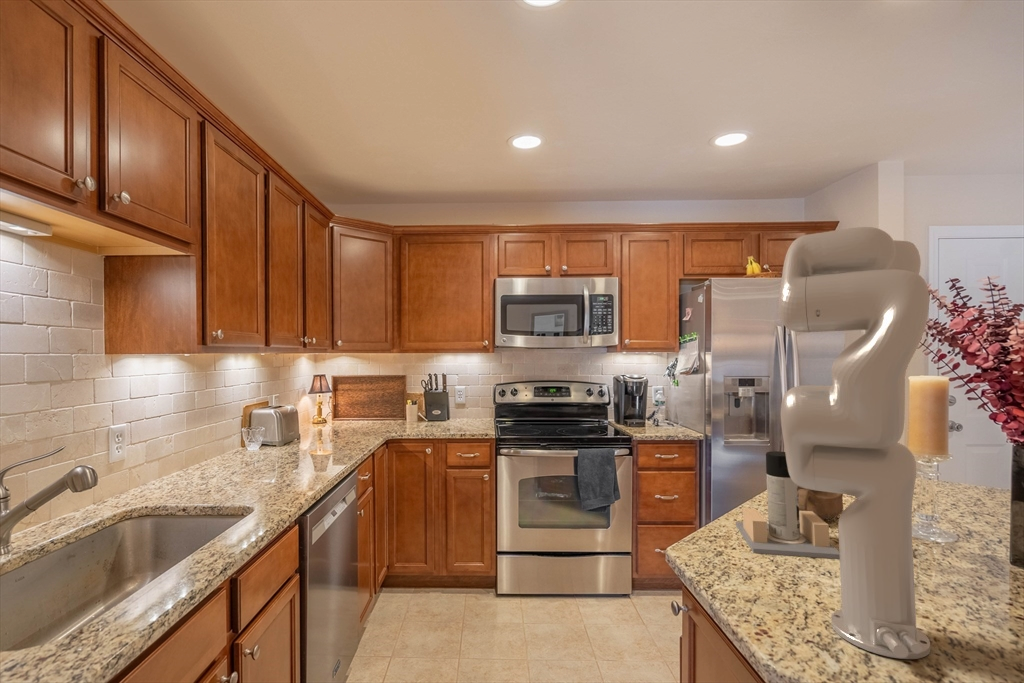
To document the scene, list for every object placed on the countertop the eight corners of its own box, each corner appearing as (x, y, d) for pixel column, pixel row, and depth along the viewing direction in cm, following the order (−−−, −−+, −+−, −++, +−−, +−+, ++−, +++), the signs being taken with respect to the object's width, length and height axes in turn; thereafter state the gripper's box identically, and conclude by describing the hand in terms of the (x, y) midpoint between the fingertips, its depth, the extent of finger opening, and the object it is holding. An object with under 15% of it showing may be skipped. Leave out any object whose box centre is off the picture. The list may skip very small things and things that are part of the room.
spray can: (805, 542, 112) (801, 456, 112) (773, 540, 113) (770, 455, 114) (794, 532, 118) (791, 451, 119) (764, 530, 119) (761, 450, 120)
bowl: (850, 528, 119) (834, 488, 121) (788, 533, 127) (775, 495, 129) (852, 509, 133) (838, 473, 135) (797, 514, 141) (784, 480, 143)
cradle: (842, 559, 105) (841, 531, 105) (753, 552, 109) (752, 526, 109) (811, 530, 122) (810, 506, 123) (735, 525, 127) (735, 502, 127)
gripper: (908, 312, 92) (912, 400, 92) (863, 319, 109) (866, 394, 109) (864, 313, 94) (868, 400, 93) (826, 320, 111) (829, 394, 110)
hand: (867, 397), depth 101 cm, fingers open, 9 cm apart
